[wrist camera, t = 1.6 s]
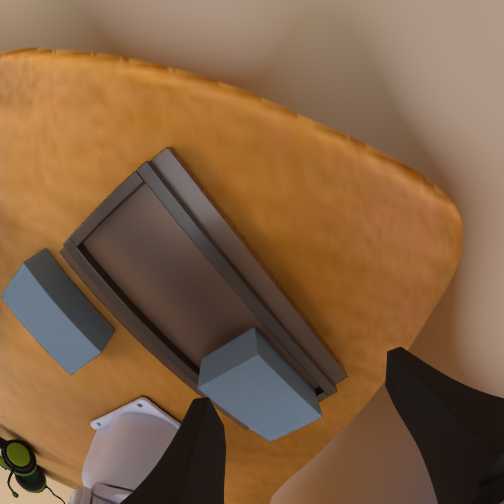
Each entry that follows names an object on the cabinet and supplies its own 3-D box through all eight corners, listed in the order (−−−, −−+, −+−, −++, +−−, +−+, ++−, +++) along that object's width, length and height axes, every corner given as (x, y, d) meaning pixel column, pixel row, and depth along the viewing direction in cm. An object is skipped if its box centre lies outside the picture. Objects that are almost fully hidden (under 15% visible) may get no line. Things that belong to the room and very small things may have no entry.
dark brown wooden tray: (245, 420, 23) (246, 437, 22) (67, 246, 17) (52, 256, 16) (343, 367, 22) (351, 383, 20) (171, 146, 16) (163, 146, 14)
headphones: (74, 534, 23) (-18, 481, 19) (85, 495, 32) (-2, 449, 29) (59, 514, 18) (-51, 442, 15) (75, 464, 27) (-26, 404, 24)
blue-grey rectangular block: (266, 414, 22) (269, 442, 19) (200, 358, 19) (197, 388, 16) (314, 389, 21) (323, 416, 18) (254, 325, 19) (258, 354, 16)
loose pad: (84, 353, 20) (70, 376, 18) (21, 280, 18) (0, 297, 15) (115, 329, 20) (101, 353, 17) (46, 247, 17) (23, 262, 15)
